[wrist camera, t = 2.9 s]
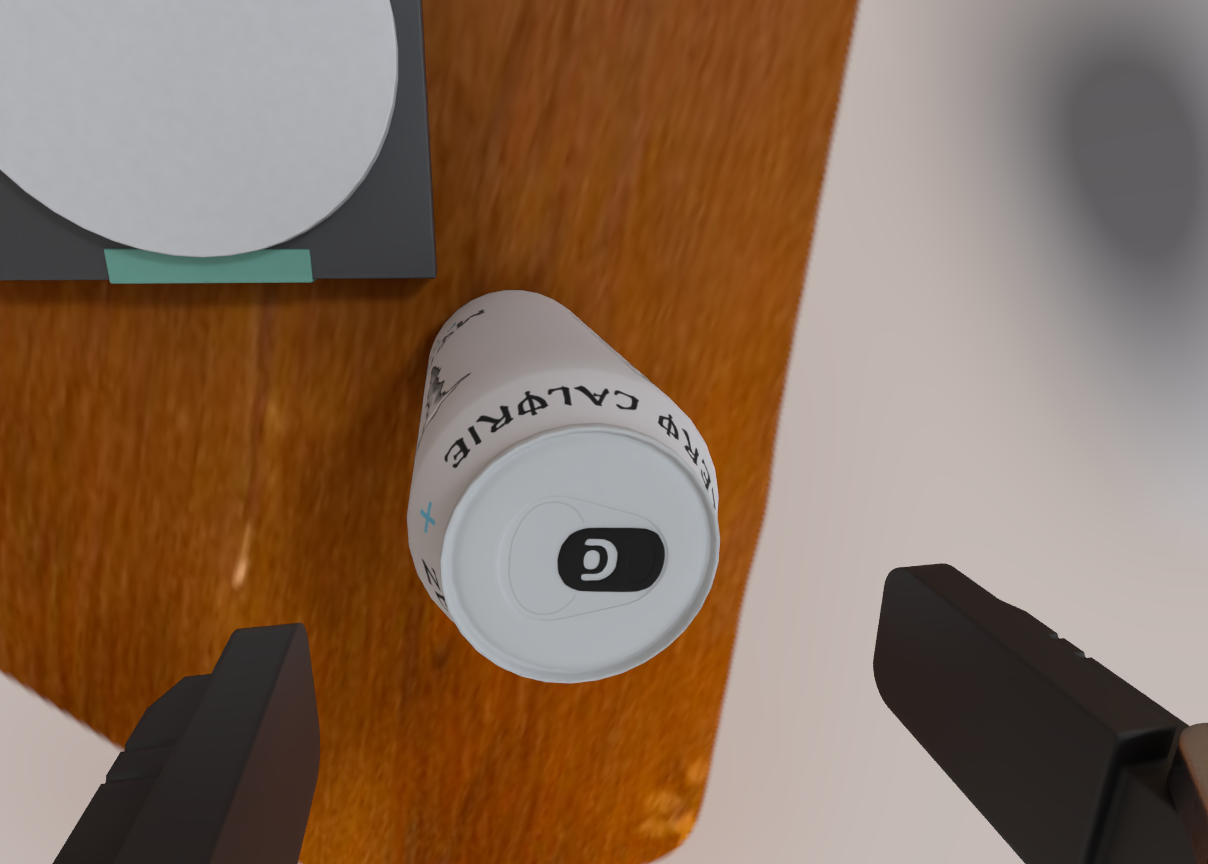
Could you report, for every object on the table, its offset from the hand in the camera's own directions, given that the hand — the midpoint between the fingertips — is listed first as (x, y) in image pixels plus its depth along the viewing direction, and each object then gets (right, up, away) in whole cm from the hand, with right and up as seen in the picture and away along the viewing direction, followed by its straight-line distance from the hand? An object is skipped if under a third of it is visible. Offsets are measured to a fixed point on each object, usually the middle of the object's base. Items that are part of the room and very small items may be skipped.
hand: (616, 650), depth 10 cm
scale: (-12, +14, +12) cm, 22 cm away
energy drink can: (-4, +5, +17) cm, 18 cm away
